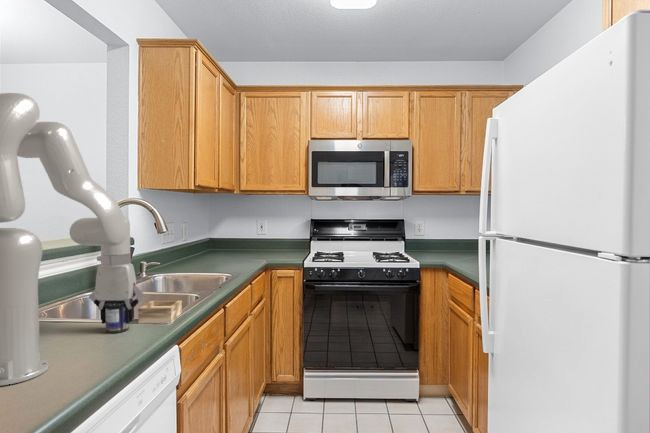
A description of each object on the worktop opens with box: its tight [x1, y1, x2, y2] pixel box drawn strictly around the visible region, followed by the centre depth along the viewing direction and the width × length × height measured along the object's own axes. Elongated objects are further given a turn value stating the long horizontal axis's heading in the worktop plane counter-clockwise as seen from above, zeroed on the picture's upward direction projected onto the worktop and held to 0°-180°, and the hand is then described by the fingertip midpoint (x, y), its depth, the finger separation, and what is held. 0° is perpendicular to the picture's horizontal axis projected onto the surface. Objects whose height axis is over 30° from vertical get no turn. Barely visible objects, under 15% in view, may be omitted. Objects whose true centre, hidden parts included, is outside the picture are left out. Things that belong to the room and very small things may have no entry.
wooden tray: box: [137, 300, 183, 324], centre depth 131 cm, size 10×10×4 cm
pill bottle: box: [105, 301, 130, 334], centre depth 119 cm, size 6×6×11 cm
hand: (117, 321), depth 119 cm, fingers closed on pill bottle, 6 cm apart
